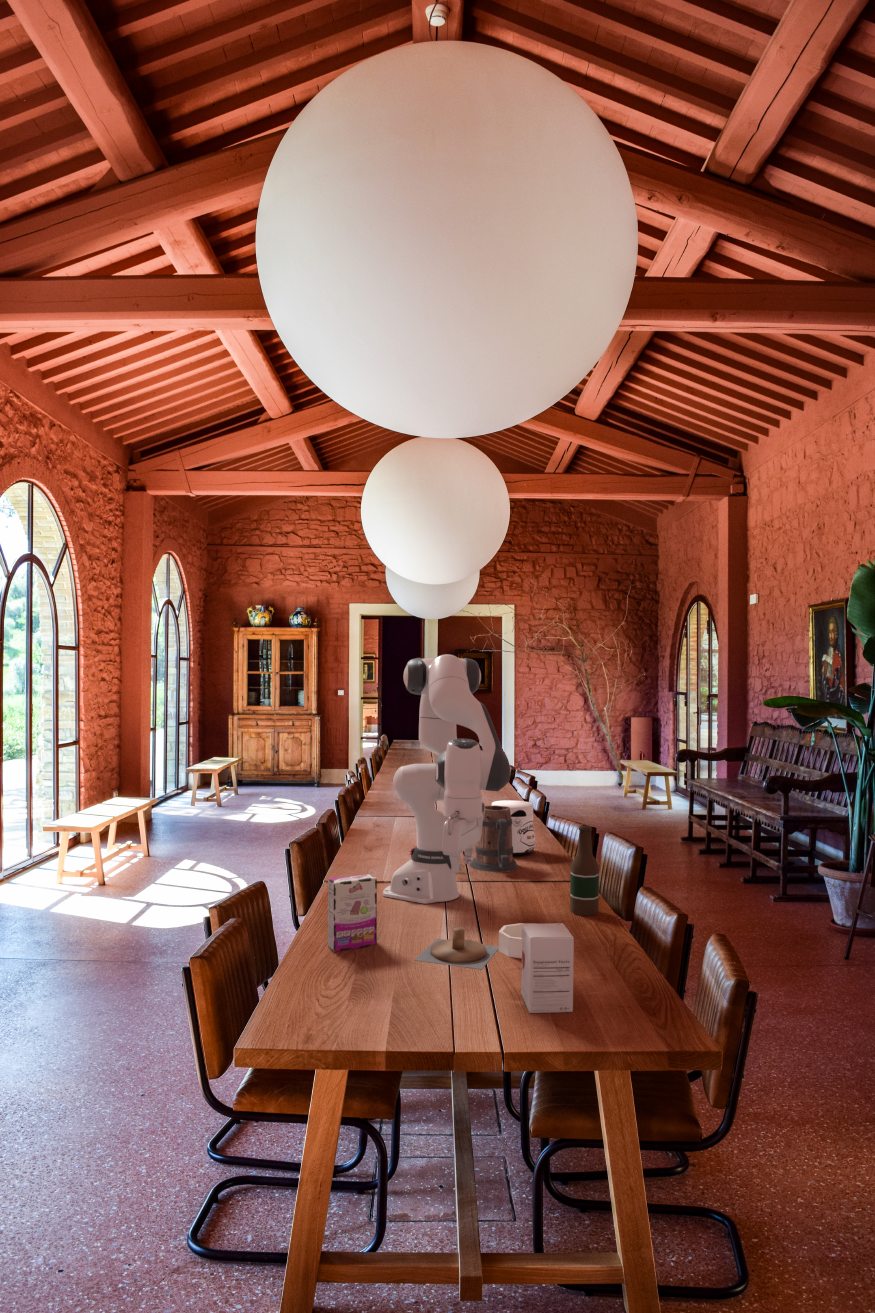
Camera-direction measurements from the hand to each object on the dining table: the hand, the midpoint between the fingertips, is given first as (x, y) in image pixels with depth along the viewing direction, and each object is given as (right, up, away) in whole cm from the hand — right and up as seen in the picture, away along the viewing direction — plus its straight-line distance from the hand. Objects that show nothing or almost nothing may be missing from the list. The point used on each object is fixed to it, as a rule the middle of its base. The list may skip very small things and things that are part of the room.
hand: (462, 867), depth 194 cm
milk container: (+21, -23, +109) cm, 113 cm away
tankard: (+14, -22, +85) cm, 89 cm away
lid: (-1, -20, -1) cm, 20 cm away
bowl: (+15, -21, +2) cm, 26 cm away
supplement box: (+16, -21, -28) cm, 38 cm away
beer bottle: (+35, -22, +35) cm, 54 cm away
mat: (-1, -20, -1) cm, 20 cm away
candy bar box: (-26, -20, +5) cm, 34 cm away
